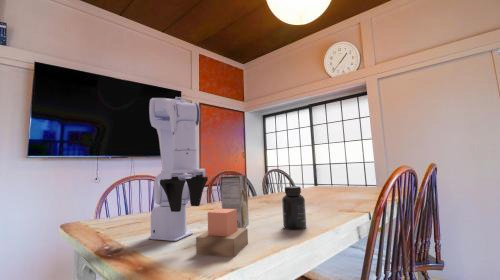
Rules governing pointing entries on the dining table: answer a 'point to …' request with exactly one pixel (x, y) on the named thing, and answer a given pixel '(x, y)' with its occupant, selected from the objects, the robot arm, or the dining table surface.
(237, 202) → the coffee box
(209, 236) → the walnut block
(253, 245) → the dining table surface
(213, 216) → the red cube
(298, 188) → the supplement bottle
